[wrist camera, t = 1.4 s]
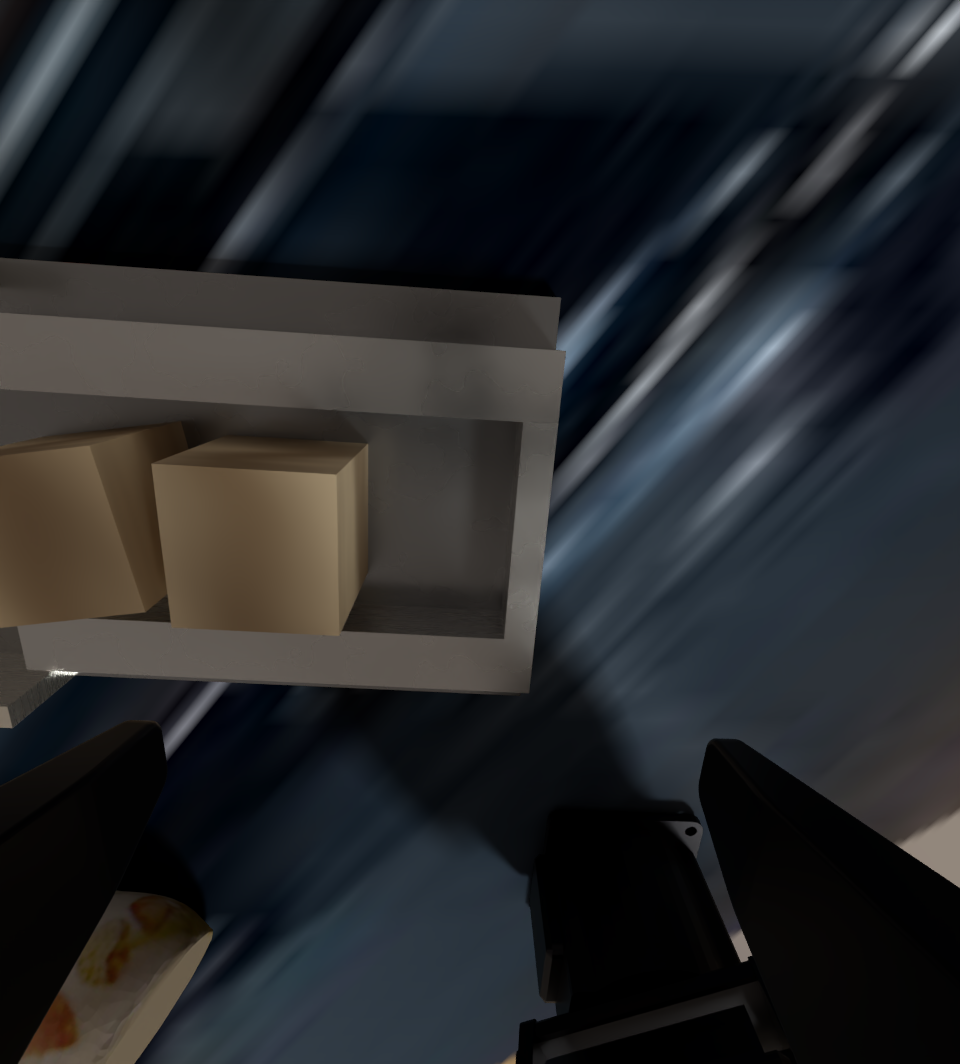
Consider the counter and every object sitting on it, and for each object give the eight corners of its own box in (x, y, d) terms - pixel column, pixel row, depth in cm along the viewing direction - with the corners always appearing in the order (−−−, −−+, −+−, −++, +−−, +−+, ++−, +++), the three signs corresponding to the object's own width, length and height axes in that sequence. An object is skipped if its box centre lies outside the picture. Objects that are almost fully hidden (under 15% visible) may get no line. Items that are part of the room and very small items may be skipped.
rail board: (557, 299, 17) (579, 288, 14) (518, 686, 22) (527, 750, 18) (-464, 226, 16) (-710, 195, 13) (-287, 648, 21) (-434, 708, 17)
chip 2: (368, 443, 18) (336, 474, 14) (367, 572, 20) (339, 636, 15) (226, 434, 18) (151, 463, 14) (237, 564, 19) (171, 627, 15)
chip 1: (180, 420, 18) (89, 445, 14) (217, 552, 19) (145, 612, 15) (42, 436, 18) (-92, 466, 14) (89, 566, 19) (-19, 630, 15)
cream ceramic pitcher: (-10, 797, 24) (-75, 1042, 16) (220, 812, 29) (258, 995, 21) (-88, 950, 24) (-192, 1269, 16) (155, 934, 30) (169, 1162, 22)
